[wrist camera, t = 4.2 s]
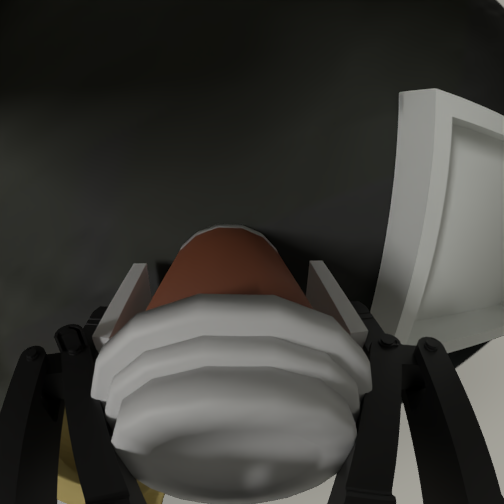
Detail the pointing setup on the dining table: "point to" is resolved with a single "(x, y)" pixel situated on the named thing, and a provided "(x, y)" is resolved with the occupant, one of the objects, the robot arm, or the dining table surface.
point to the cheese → (69, 479)
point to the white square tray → (444, 224)
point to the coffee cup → (231, 378)
